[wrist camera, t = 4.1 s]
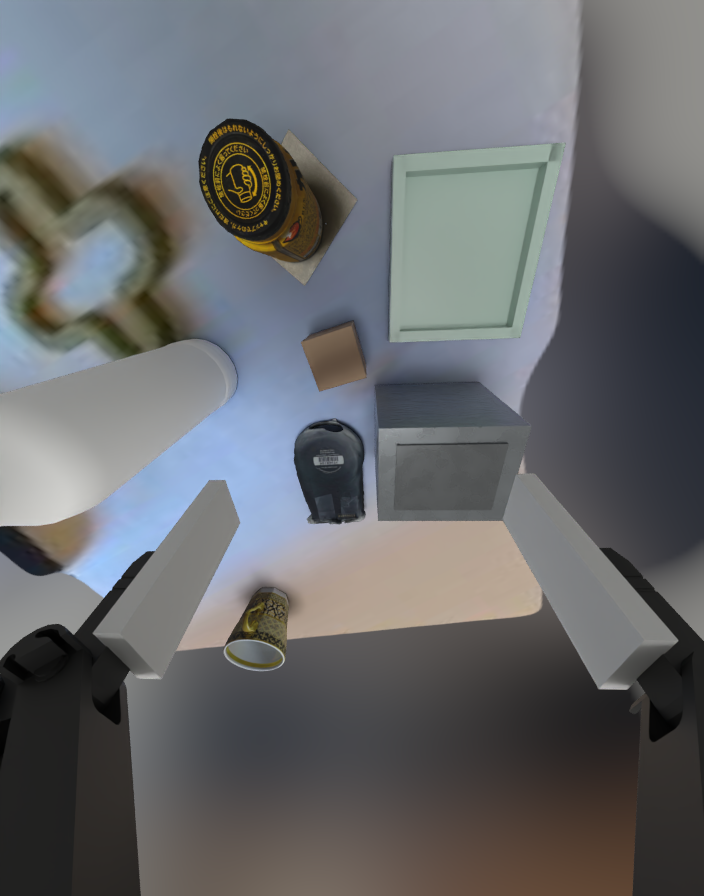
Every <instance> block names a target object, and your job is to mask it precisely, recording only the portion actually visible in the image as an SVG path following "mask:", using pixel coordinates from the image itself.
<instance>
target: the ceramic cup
mask: <svg viewBox="0 0 704 896" xmlns="http://www.w3.org/2000/svg"><path fill="white" fill-rule="evenodd" d="M288 606H289V603H288V599H287V596H286V594H285V593H283V592H281V591H279V590H278V589H276V588H261V589H260V590H259V591H258V592H257V593H255V594H254V595H253V597H252V599H251V601H250V602H249V604H248V606H247V608H246V610H245V611H244V613H243V615H242V617H241V618H240V620H239V622H238V623H237V625H236V626H235V628H234V630H233V631H232V633H231V635H230V637H229V638H228V640H227V642H226V644H225V646H224V649H223V652H224V655H225V657H226V658H227V659H228V660H229V661H230V662H232V663H233V664H235V665H237V666H239V667H242V668H245V669H249V670H254V671H269V670H273V669H276V668H278V667H280V666H281V665H282V664H283V663H284V660H285V654H286V641H287V620H288Z"/></svg>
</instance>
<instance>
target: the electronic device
mask: <svg viewBox="0 0 704 896" xmlns="http://www.w3.org/2000/svg"><path fill="white" fill-rule="evenodd" d="M321 425H337V426H340V427H342V428H343V429H344V430H342V431H341V432H330V431H327V430H325V429H324V428H319V429H313V428H315V427H317V426H321ZM294 454H295V457H294V463H295V466H296V471H297V476H298V479H299V482H300V485H301V489H302V491H303V494H304V497H305V500H306V502H307V504H308V507H309V509H310V511H311V513H312V514H311V515H310V516H309V517H308V518H307V520H308V523H309V524H318V523H329V524H341V523H342V522H344V521H345V522H344V523H350V522H359V521H362V520H363V519H364V518H365V515H366V514H365V511H364V503H363V502H364V499H363V495H364V491H363V474H362V464H363V461H364V449H363V445H362V443H361V441H360V439H359V437H358V436H357V435H356V434H355V433H354V432H353V431H352V430H351V429H349V428H347V427H346V426H344V425H341V424H339V423H337V422H336V418H335V419H333V420H331V421H324V422H319V423H316V424H313V425H311V426H310V427H308V428H307V429H306V430H304V431H303V432H302V433H301V434H300V435H299V437H298V438H297V440H296V442H295V449H294Z"/></svg>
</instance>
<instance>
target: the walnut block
mask: <svg viewBox="0 0 704 896" xmlns="http://www.w3.org/2000/svg"><path fill="white" fill-rule="evenodd" d="M301 344H302V346H303V349H304V352H305V354H306V357H307V360H308V362H309V365H310V368H311V370H312V373H313V376H314V378H315V381H316V384H317V386H318V389H319V392H320V391H323V390H326V389H330V388H333V387H337V386H340V385H343V384H347V383H350V382H353V381H357V380H360V379H364V378H366V363H365V359H364V356H363V352H362V349H361V345H360V342H359V338H358V335H357V331H356V328H355V324H354V320H353V321H350V322H347V323H344V324H341V325H338V326H335V327H332V328H329V329H326V330H323V331H320V332H317V333H314V334H311V335H309V336H308V337H307V338H306V339H304V340H303V341H302V342H301Z"/></svg>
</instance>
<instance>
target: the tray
mask: <svg viewBox="0 0 704 896" xmlns="http://www.w3.org/2000/svg"><path fill="white" fill-rule="evenodd" d="M565 144H566V143H555V144H541V145H527V146H514V147H500V148H487V149H473V150H460V151H446V152H432V153H419V154H405V155H394V157H393V162H392V182H391V232H390V281H389V331H388V340H389V342H390V343H391V342H419V341H447V340H474V339H502V338H520V336H521V332H522V328H523V323H524V319H525V315H526V310H527V306H528V302H529V298H530V293H531V289H532V285H533V280H534V276H535V272H536V268H537V263H538V259H539V255H540V251H541V246H542V242H543V238H544V233H545V229H546V225H547V221H548V216H549V212H550V208H551V204H552V199H553V195H554V191H555V186H556V182H557V178H558V174H559V169H560V165H561V161H562V156H563V152H564V148H565Z"/></svg>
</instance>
